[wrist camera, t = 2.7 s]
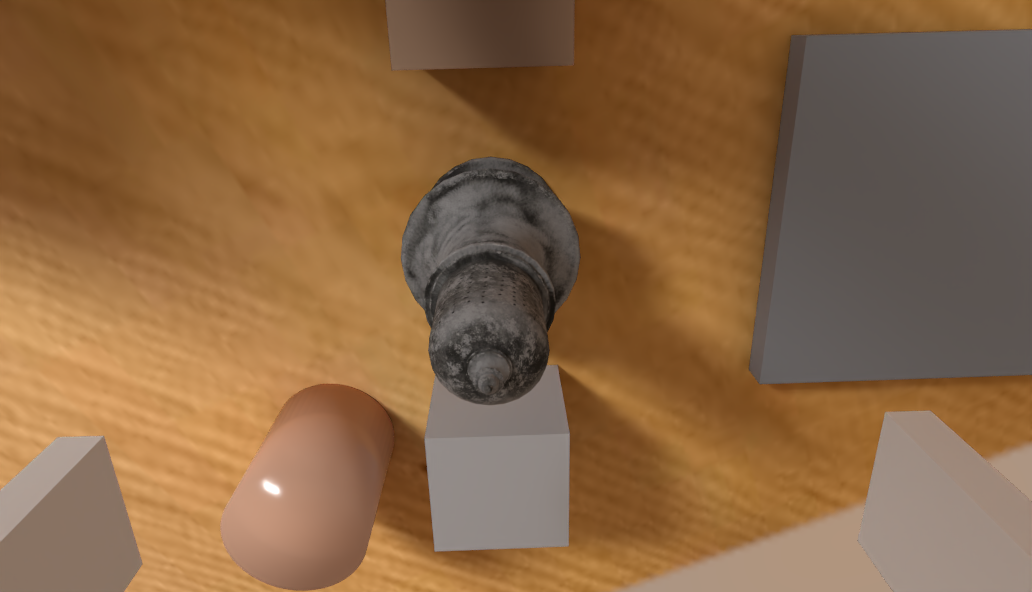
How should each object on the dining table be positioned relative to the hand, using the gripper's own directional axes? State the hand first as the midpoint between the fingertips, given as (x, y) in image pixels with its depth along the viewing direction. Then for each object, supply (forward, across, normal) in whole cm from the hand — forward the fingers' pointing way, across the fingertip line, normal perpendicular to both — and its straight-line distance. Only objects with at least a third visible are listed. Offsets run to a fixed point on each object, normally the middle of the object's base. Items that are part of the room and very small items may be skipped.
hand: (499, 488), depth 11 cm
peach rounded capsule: (+15, -7, -9) cm, 19 cm away
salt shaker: (+15, 0, 0) cm, 15 cm away
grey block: (+15, 0, -8) cm, 17 cm away
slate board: (+15, +17, 0) cm, 22 cm away
